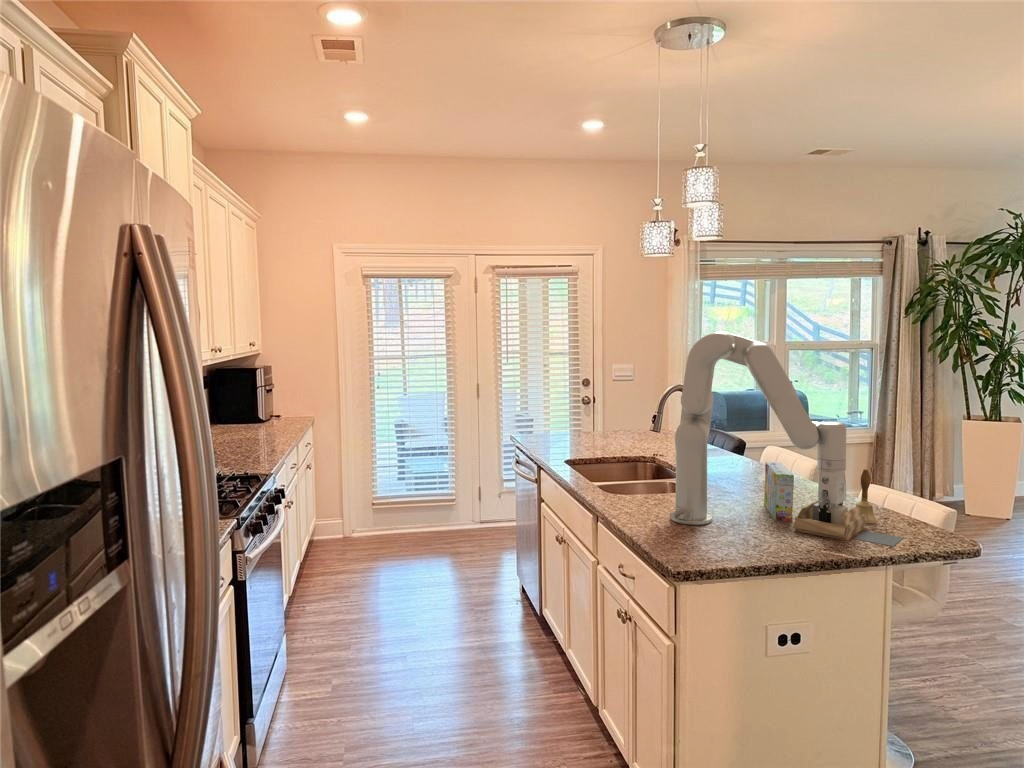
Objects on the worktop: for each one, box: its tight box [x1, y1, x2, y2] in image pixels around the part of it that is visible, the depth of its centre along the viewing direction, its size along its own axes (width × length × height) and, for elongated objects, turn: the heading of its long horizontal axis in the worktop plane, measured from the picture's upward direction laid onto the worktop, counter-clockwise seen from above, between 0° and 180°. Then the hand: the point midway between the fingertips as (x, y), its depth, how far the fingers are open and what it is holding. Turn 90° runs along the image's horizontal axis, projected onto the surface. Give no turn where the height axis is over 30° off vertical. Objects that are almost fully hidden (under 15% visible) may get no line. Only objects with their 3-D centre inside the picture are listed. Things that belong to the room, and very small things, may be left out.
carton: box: [793, 499, 866, 541], centre depth 194 cm, size 20×14×7 cm
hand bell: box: [855, 469, 880, 524], centre depth 204 cm, size 8×8×16 cm
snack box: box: [763, 461, 795, 522], centre depth 213 cm, size 21×6×15 cm, turn 168°
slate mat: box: [853, 530, 904, 547], centre depth 185 cm, size 10×10×1 cm
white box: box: [813, 502, 849, 526], centre depth 194 cm, size 5×8×7 cm, turn 46°
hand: (830, 522), depth 194 cm, fingers open, 9 cm apart
